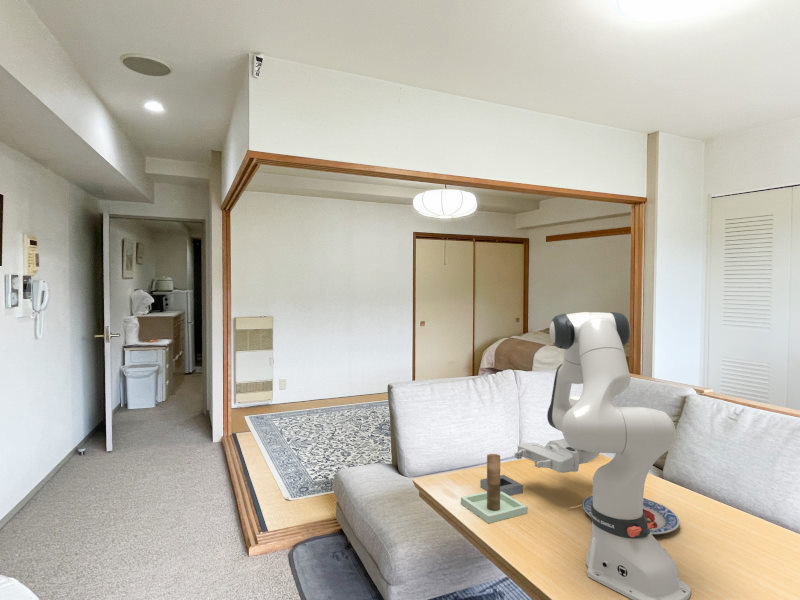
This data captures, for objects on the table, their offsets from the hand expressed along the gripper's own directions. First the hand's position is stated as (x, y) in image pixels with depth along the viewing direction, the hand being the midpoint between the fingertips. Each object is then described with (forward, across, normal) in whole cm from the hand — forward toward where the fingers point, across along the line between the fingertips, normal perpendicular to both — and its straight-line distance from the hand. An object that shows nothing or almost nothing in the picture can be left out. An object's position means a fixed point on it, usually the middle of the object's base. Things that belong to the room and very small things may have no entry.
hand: (525, 460), depth 148 cm
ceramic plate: (-21, +21, +14) cm, 33 cm away
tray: (+12, -1, +14) cm, 18 cm away
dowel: (+12, -1, +13) cm, 18 cm away
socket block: (+1, -11, +14) cm, 17 cm away
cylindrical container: (-46, -21, +13) cm, 52 cm away
